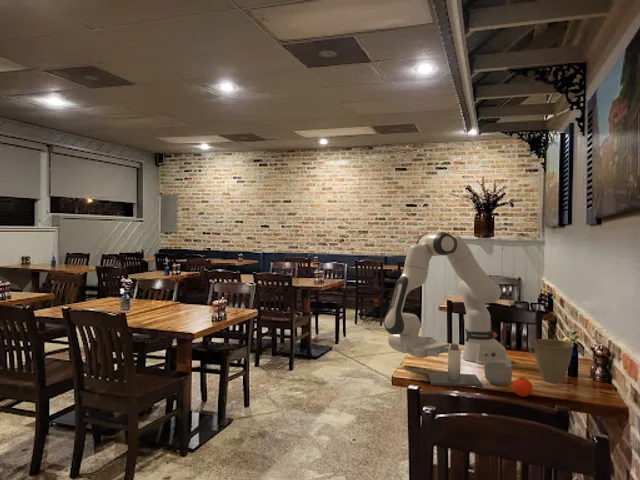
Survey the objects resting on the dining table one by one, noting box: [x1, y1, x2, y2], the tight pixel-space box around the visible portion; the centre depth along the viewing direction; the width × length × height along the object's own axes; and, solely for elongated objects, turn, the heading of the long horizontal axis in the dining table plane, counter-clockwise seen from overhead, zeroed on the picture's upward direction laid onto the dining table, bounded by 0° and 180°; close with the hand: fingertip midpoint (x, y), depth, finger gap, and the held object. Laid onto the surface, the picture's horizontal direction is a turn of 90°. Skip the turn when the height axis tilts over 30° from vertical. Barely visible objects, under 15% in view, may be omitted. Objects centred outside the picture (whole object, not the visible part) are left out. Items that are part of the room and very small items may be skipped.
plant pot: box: [533, 338, 574, 384], centre depth 204 cm, size 15×15×16 cm
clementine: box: [512, 376, 533, 398], centre depth 185 cm, size 8×7×7 cm
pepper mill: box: [447, 343, 462, 380], centre depth 202 cm, size 5×5×14 cm
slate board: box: [427, 371, 484, 388], centre depth 203 cm, size 20×14×1 cm
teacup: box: [483, 360, 513, 386], centre depth 202 cm, size 14×11×8 cm
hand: (445, 353), depth 206 cm, fingers open, 8 cm apart
